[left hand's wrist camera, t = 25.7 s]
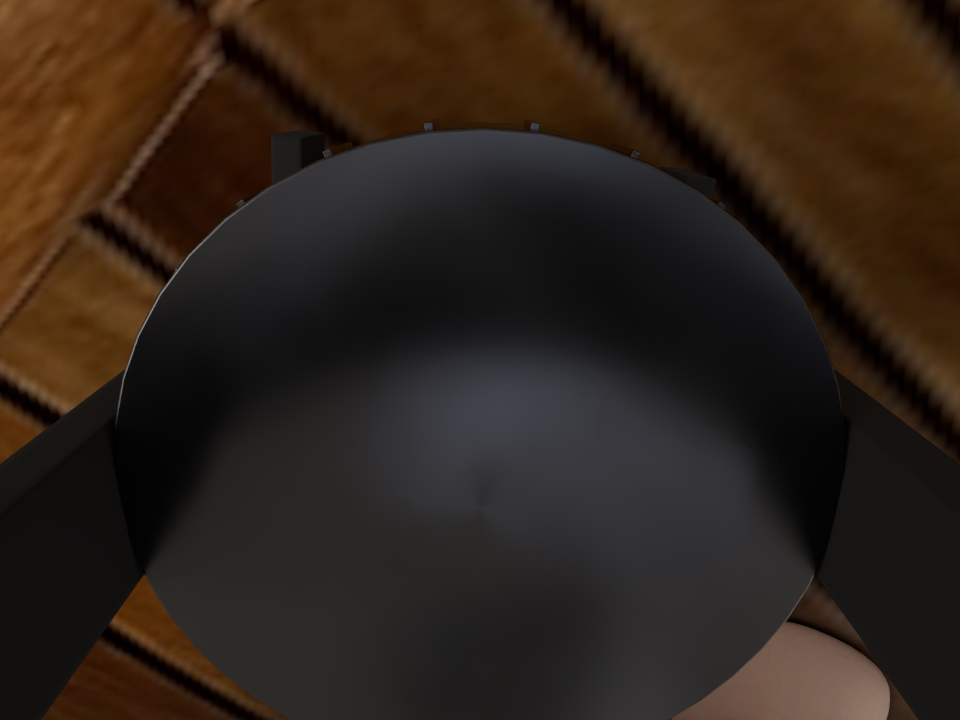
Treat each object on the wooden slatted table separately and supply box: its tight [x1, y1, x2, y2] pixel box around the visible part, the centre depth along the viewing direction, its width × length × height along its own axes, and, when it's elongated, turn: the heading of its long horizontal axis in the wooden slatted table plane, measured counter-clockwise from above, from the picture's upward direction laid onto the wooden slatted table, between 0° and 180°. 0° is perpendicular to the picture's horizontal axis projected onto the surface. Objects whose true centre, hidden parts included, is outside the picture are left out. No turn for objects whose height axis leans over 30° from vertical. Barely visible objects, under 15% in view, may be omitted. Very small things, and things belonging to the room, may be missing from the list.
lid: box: [114, 119, 845, 720], centre depth 11 cm, size 11×11×2 cm
